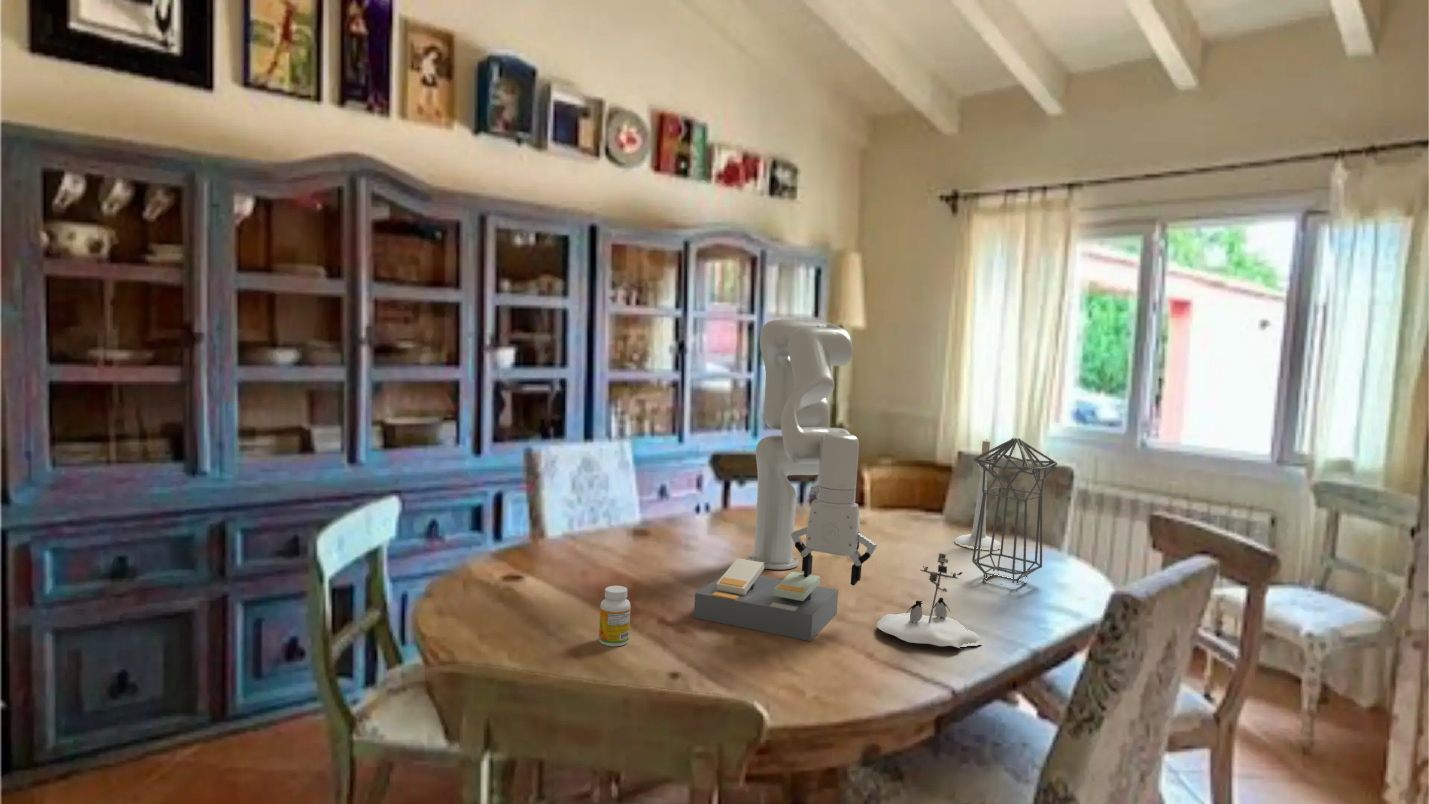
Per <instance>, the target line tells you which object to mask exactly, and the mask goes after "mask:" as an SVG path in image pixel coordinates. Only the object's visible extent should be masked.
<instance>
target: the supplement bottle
mask: <svg viewBox="0 0 1429 804" xmlns="http://www.w3.org/2000/svg"><path fill="white" fill-rule="evenodd" d="M627 598H628V588H627V587H626V586H622V585H610V586H607V587H605V588H604V599H603V600H602V601H600V607H599V610H600V611H599V630H598V631H599V633H598V641H599V643H600V644H602V645H603V646H606V647H613V648H614V647H621V646H625V645H627V644H628V643H629V642H630V626H631V602H630V600H629V599H627Z"/></svg>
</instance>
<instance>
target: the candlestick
mask: <svg viewBox="0 0 1429 804" xmlns="http://www.w3.org/2000/svg"><path fill="white" fill-rule="evenodd" d="M990 446H991V441H990V440H987V439H986V440H982V444H981V454H983V453H985V452H987V451H989V450H990V449H991V448H990ZM988 456H990V453H989V454H987V455H985V456H984V457H982V458H980V459H985V458H987V457H988ZM982 463H983V462H982ZM977 465H978V467H979V469H978V470H979V473H980V476H979V480H978V488H977V494H976V503H975V510H974V517H973V524H972V530H971V533H969V534H962V535H959V536H957V537H956V538H954V540H955V542H958V543H960V544H962V545H968V546H973V547H974V546H975V540H976V534H977V527H978V521H979V515H980V509H981V503H982V497H983V493H982V487H983V468H982V467H981V466H980V465H979V464H978V463H977ZM985 466H986V467H987V468H989V464H987V463H985ZM990 467H992V465H990ZM988 473H989V472H988V471H985V488H984V490H987V489H988V488H987V486H988V477H987V474H988ZM986 492H987V491H986ZM987 495H988V494H986V496H987ZM986 519H987V499H986V500H985V510H984V519H983V529H982V539H981V547H982V548H991V542H992V536H988V535H987V534H986V533H987V532H986V530H987V529H986V525H987V523H986V522H987V521H986ZM980 526H981V523H980ZM979 535H980V530H979ZM978 545H979V536H978V542H977V547H978ZM998 545H1001V542H1000V541H998V540H997V539H995V538H994V543H993V547H996V546H998Z"/></svg>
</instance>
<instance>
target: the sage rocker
mask: <svg viewBox="0 0 1429 804" xmlns="http://www.w3.org/2000/svg"><path fill="white" fill-rule="evenodd" d="M781 580H782V581H781V582H780V583H779V584H778V585H777V586H776V587H775V588H774V594H773V596H778V597H784V598H789V599H794V600H800V601H804V600H805V599H806V597H807V596H808V595H809V594H810V593H811V592H812V591H813V590H814V589H815V588H816V587H817V586H819V585H820V583H821V576H820V575H815V574H810V575H809V576H808V577H804V572H798V571H791V572H790V573H789V574H787V575H786V576H785V577H784V579H781Z"/></svg>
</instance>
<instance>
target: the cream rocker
mask: <svg viewBox="0 0 1429 804" xmlns="http://www.w3.org/2000/svg"><path fill="white" fill-rule="evenodd" d="M764 569H765V568H764V563H763V562H757V561H751V560H747V559H745V558H739V557H737V558H736V559H735V560H734V562H733V563H732V564H731V565H730V566H729V567H728V569H727V570H726V572H725V573H724V574H723V575H721V576H722V577H721V576H720V577H721V579H720V580H719V581H718V582H717V583H716V588H717V590H720V591H725V592H731V593H736V594H741V595H745V594H746V593H747V591H748V590H749V589H750V587H751V586H752V584H753V583H754V582H755V580H756V579H757V578H758V576H761V574H762V573H763V571H764Z"/></svg>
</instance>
